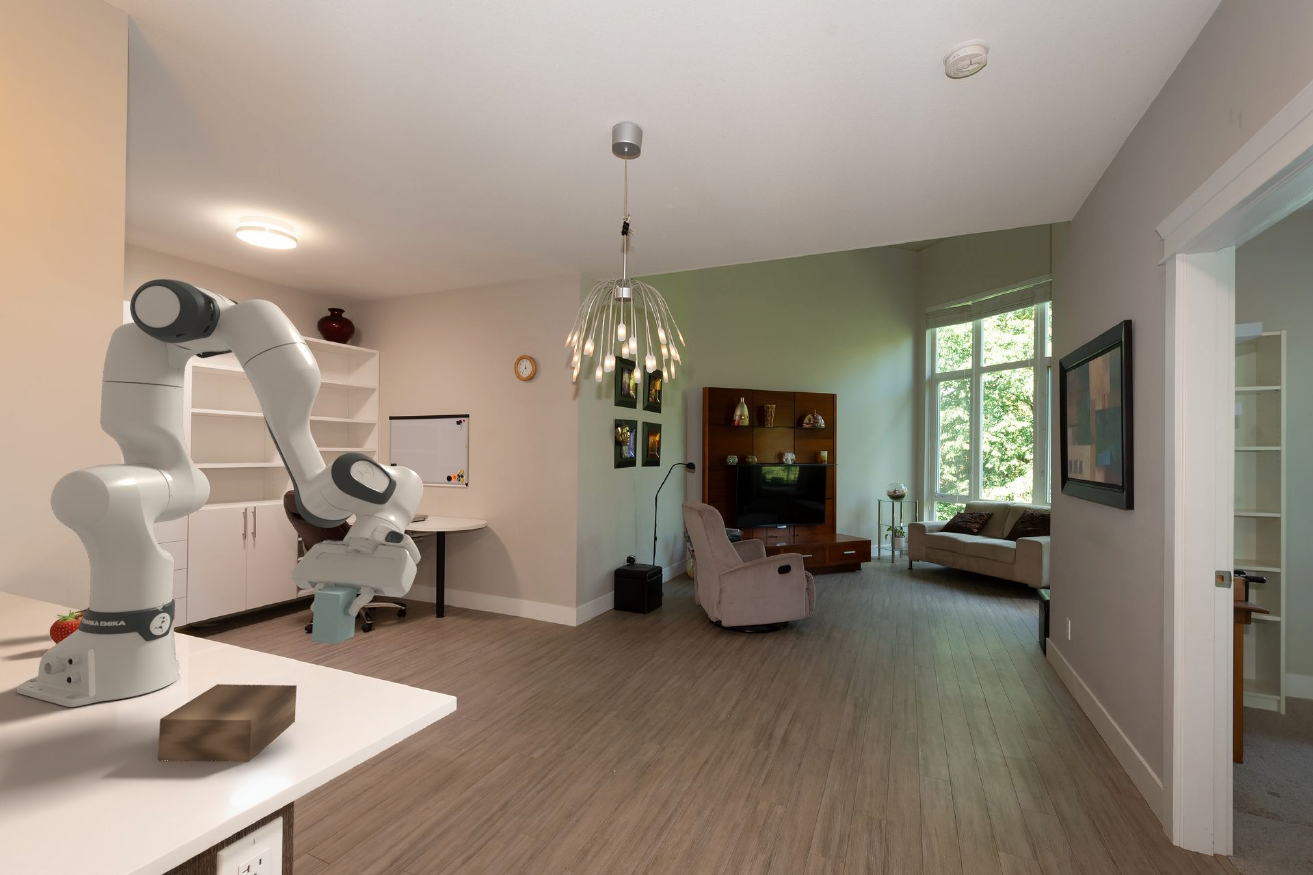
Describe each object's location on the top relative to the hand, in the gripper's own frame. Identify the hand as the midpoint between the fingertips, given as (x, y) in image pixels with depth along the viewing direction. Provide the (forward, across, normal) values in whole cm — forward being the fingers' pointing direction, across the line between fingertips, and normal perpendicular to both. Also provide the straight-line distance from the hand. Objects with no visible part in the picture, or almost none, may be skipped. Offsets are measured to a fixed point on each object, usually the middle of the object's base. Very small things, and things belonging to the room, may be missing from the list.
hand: (332, 612), depth 98 cm
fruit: (+2, -67, +23) cm, 70 cm away
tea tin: (+3, 0, +4) cm, 4 cm away
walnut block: (+19, -8, +5) cm, 21 cm away
